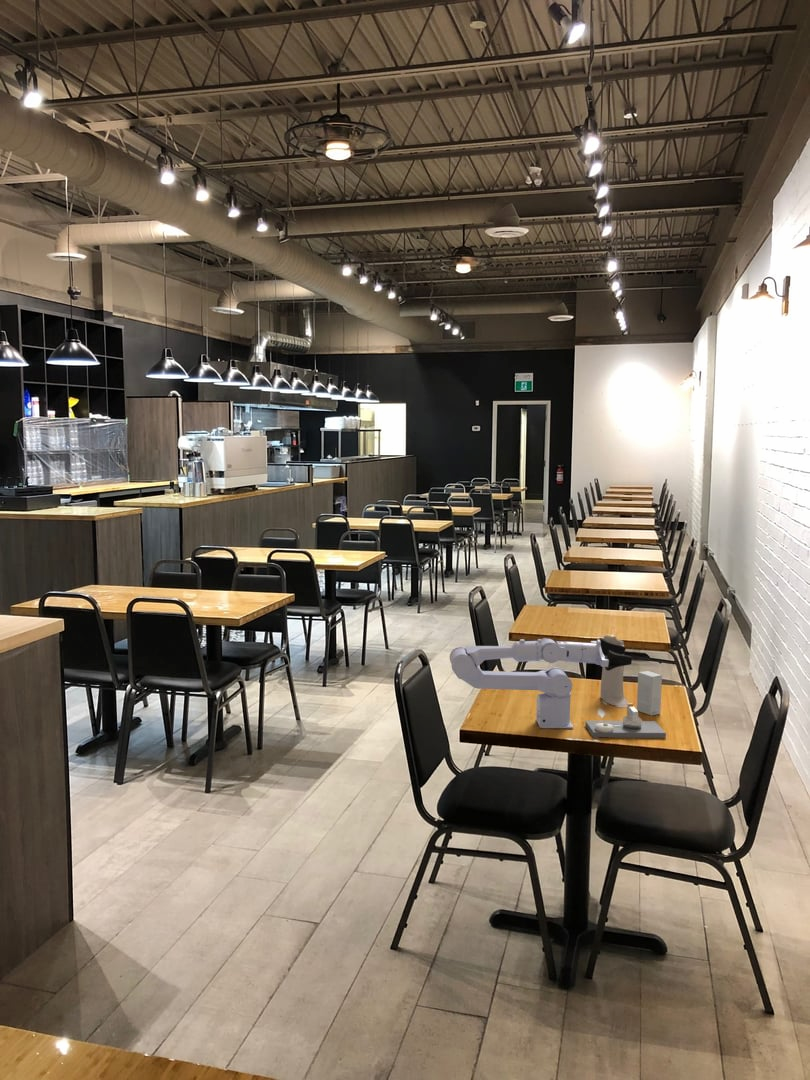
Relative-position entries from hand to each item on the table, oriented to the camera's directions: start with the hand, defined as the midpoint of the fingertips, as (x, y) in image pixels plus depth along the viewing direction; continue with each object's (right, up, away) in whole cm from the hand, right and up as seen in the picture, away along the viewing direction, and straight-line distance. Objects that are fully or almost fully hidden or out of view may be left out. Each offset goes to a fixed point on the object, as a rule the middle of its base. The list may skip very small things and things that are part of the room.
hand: (627, 655), depth 242 cm
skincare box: (+10, -19, +14) cm, 26 cm away
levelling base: (-2, -21, -4) cm, 21 cm away
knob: (0, -19, -4) cm, 20 cm away
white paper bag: (+3, -18, +25) cm, 31 cm away
